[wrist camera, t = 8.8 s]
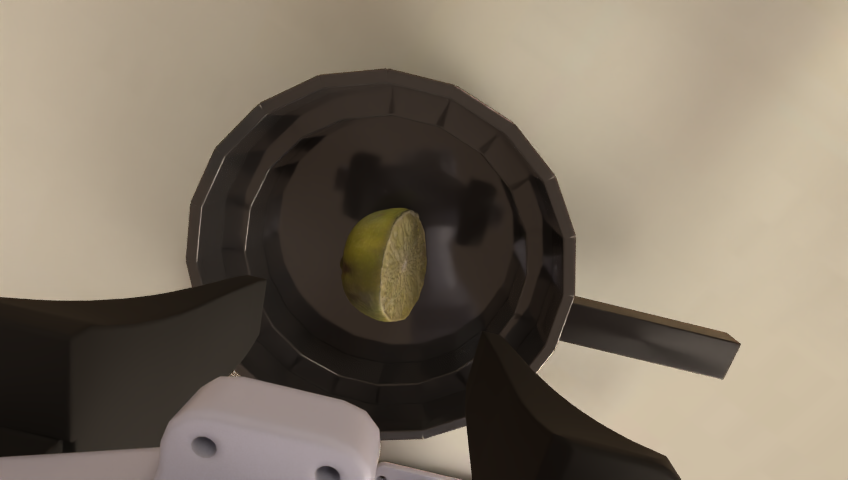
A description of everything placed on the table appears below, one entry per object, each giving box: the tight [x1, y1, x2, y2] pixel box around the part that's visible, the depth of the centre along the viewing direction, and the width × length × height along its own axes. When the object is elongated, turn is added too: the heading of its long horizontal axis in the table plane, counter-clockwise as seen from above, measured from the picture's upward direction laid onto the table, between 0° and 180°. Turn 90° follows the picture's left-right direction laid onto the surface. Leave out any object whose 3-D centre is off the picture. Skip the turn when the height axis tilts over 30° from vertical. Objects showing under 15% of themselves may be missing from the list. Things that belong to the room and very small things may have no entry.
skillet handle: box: [559, 296, 741, 380], centre depth 19 cm, size 2×8×1 cm, turn 77°
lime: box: [340, 208, 427, 322], centre depth 19 cm, size 4×5×5 cm
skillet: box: [186, 68, 576, 440], centre depth 20 cm, size 16×16×4 cm
